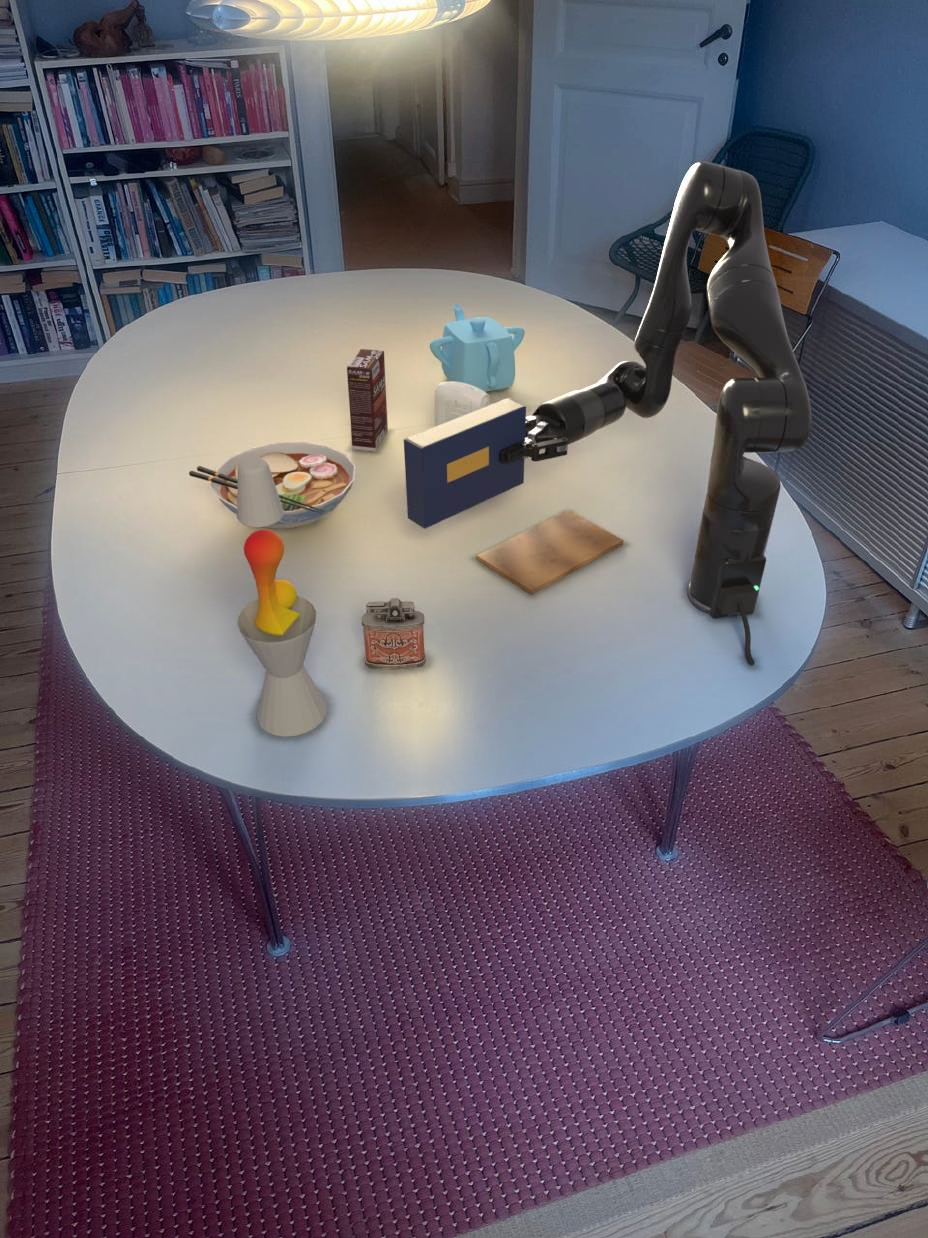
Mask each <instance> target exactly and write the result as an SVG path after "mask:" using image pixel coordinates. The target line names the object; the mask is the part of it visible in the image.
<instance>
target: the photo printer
mask: <svg viewBox="0 0 928 1238" xmlns="http://www.w3.org/2000/svg"><path fill="white" fill-rule="evenodd" d="M489 405H491V399H490V395H489V394H488V393H487V391H485V392H484V391H483V390H481V389H479V388H477V387H475V386H472V385H469V384H466V383H462V382H453V381H449V380H448V381H441V382H440V383H439V384H437V386H436V389H435V393H434V427H435V426H438V425H440V424H443V423H446V422H448V421H451V420H453V419H456V418H458V417H461V416H463V415H466V414H468V413H471V412H473V411H476V410H478V409H481V408H483V407H486V406H489Z"/></svg>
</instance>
